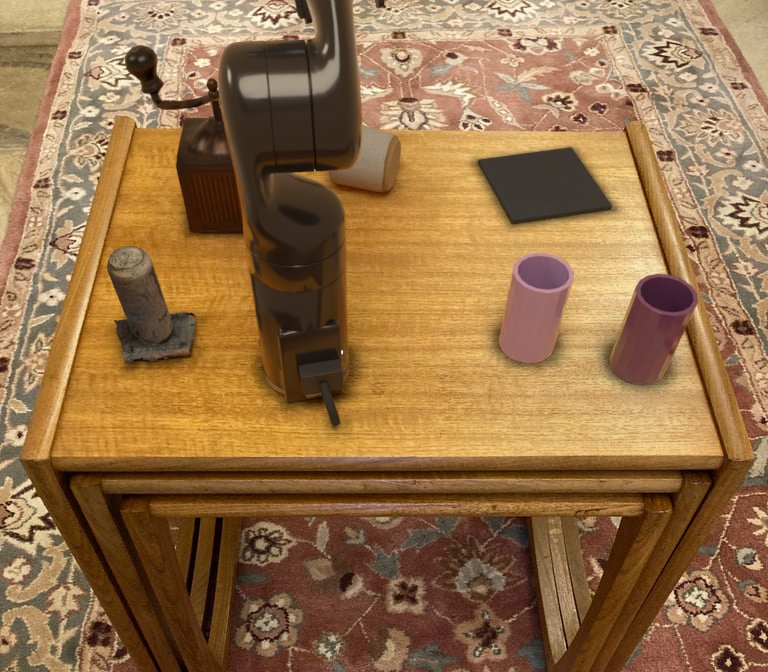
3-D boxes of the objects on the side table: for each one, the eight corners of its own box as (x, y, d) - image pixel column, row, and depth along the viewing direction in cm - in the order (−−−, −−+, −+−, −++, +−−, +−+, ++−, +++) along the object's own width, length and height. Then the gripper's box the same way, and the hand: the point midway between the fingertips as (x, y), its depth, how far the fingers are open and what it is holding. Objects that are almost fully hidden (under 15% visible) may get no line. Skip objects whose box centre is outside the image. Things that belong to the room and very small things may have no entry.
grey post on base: (125, 373, 82) (92, 284, 72) (114, 326, 86) (82, 236, 76) (208, 354, 84) (187, 265, 74) (194, 309, 88) (172, 219, 78)
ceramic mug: (387, 205, 100) (389, 149, 94) (328, 194, 101) (326, 137, 95) (407, 162, 106) (410, 106, 100) (351, 152, 107) (350, 96, 101)
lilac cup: (561, 358, 85) (583, 287, 77) (509, 367, 84) (525, 296, 76) (541, 321, 89) (560, 248, 80) (491, 329, 88) (504, 257, 79)
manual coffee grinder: (275, 182, 102) (260, 39, 87) (271, 234, 96) (255, 89, 81) (158, 182, 102) (123, 38, 87) (147, 234, 96) (107, 89, 81)
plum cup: (674, 379, 84) (709, 309, 76) (623, 389, 83) (652, 319, 75) (650, 341, 87) (680, 269, 79) (600, 350, 86) (625, 278, 78)
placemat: (611, 209, 101) (612, 205, 100) (512, 224, 99) (512, 220, 98) (570, 150, 108) (571, 146, 108) (477, 163, 106) (478, 159, 105)
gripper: (245, -162, 76) (287, 26, 84) (382, -192, 77) (411, -2, 85) (244, -142, 83) (283, 31, 91) (371, -169, 83) (398, 5, 91)
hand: (345, 15), depth 88 cm, fingers open, 8 cm apart
